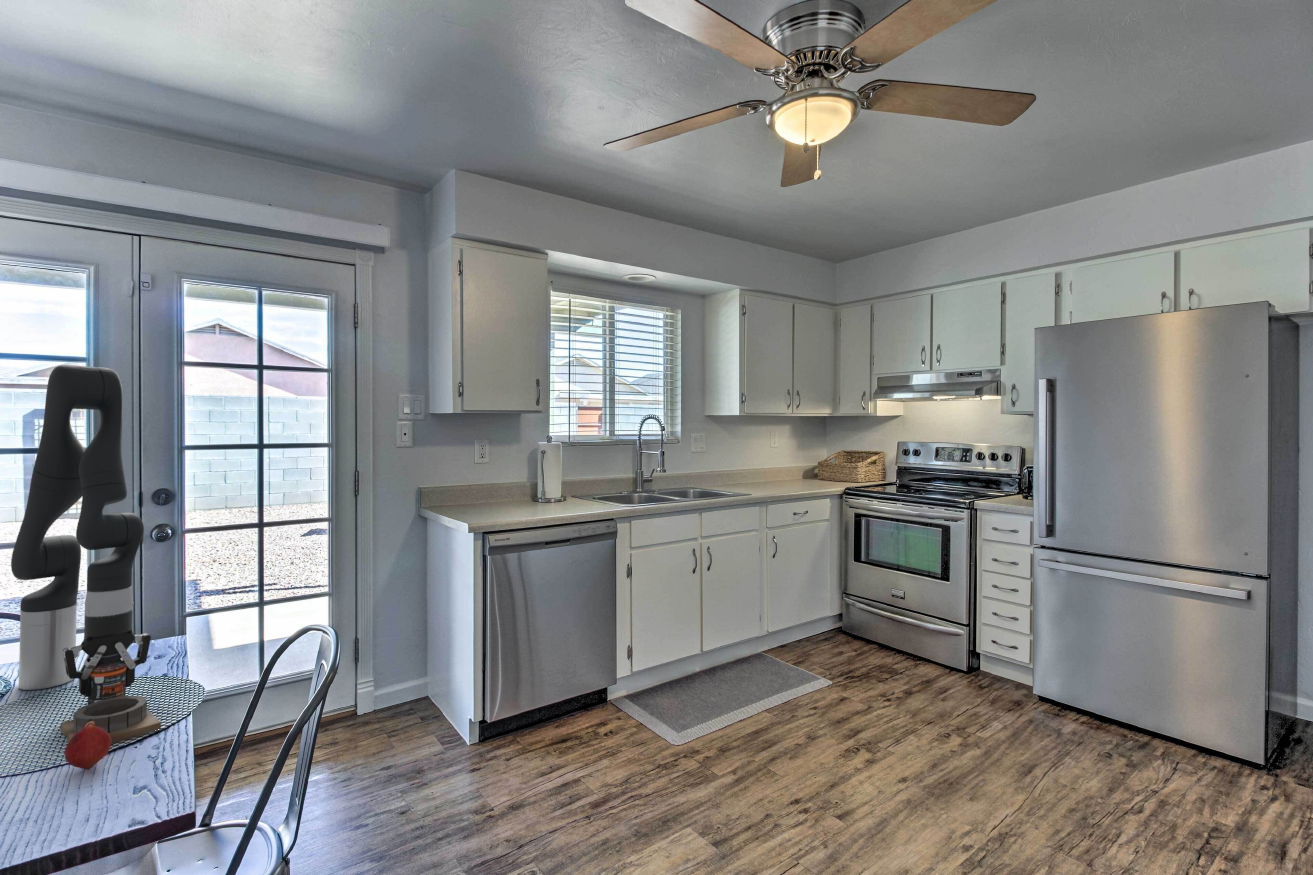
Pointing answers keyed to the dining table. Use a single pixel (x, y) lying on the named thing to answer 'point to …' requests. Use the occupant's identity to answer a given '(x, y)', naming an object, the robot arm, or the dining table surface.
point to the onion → (88, 746)
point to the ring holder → (114, 718)
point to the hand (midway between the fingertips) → (107, 690)
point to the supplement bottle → (108, 679)
